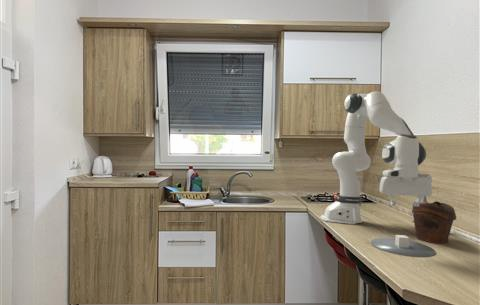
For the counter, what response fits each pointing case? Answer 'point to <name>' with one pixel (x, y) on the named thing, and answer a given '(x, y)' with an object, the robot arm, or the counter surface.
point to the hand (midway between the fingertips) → (404, 205)
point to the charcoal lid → (402, 246)
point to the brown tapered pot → (433, 221)
